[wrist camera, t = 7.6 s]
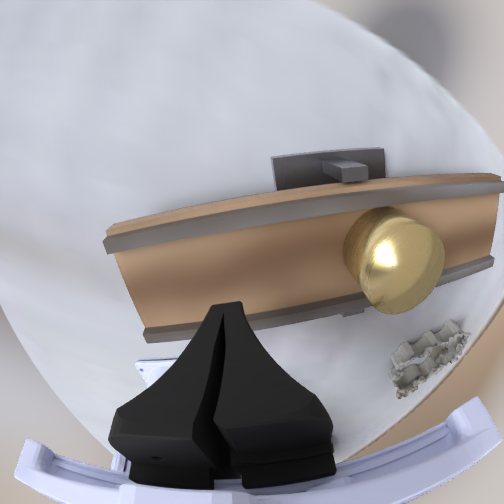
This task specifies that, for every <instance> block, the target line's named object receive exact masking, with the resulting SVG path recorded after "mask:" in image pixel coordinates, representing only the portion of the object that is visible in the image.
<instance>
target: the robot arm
mask: <svg viewBox="0 0 504 504" xmlns="http://www.w3.org/2000/svg"><path fill="white" fill-rule="evenodd" d="M135 366H136V368H137V370H138V371H139V373H140V374H141V376H142V377H143V379H144V380H145V382H146V383H147V388H146V390H145V391H143V392H142V393H141V394H139V395H138V396H136V397H135V398H133V399H132V400H130V401H129V402H127V403H126V404H124V405H123V406H121V407H119V408H117V410H116V413H115V415H114V418H113V422H112V426H111V430H110V434H109V438H108V441H109V443H110V444H111V446H112V447H113V448H114V449H115V450H116V451H115V454H114V458H113V461H112V465H111V469H107V468H103V467H98V466H94V465H90V464H87V463H83V462H79V461H76V460H73V459H70V458H67V457H64V456H61V455H58V454H55V453H54V452H53V451H52V450H50V449H49V448H48V447H46V446H45V445H43V444H41V443H39V442H36V441H34V440H31V439H29V438H27V439H26V441H25V444H24V447H23V449H22V452H21V455H20V458H19V461H18V464H17V467H16V470H15V473H14V477H15V478H16V479H18V480H20V481H21V482H23V483H24V484H26V485H27V486H29V487H31V488H33V489H34V490H36V491H38V492H40V493H41V494H43V495H45V496H47V497H49V498H51V499H53V500H55V501H57V502H59V503H61V504H405V503H408V502H410V501H412V500H414V499H416V498H418V497H420V496H422V495H424V494H426V493H428V492H430V491H431V490H433V489H435V488H437V487H439V486H441V485H442V484H444V483H446V482H448V481H449V480H451V479H453V478H454V477H456V476H457V475H459V474H460V473H462V472H464V471H465V470H466V469H468V468H469V467H471V466H472V465H474V464H475V463H476V462H478V461H479V460H480V459H481V458H483V457H484V456H485V455H486V454H488V453H489V452H490V451H491V450H492V449H494V448H495V447H496V446H497V445H498V444H499V443H500V442H502V440H503V438H502V436H501V434H500V433H499V431H498V429H497V427H496V425H495V424H494V422H493V420H492V418H491V417H490V415H489V413H488V412H487V410H486V408H485V407H484V405H483V403H482V402H481V400H480V399H479V397H478V396H476V397H474V398H472V399H471V400H469V401H468V402H466V403H465V404H463V405H461V406H459V407H458V408H456V409H455V410H454V411H453V412H452V413H451V414H450V415H449V416H448V418H447V419H446V421H444V422H442V423H441V424H439V425H437V426H435V427H433V428H431V429H429V430H427V431H425V432H423V433H420V434H418V435H416V436H414V437H412V438H410V439H407V440H405V441H402V442H400V443H398V444H395V445H393V446H390V447H387V448H385V449H382V450H379V451H377V452H374V453H371V454H368V455H365V456H361V457H358V458H355V459H352V460H348V461H345V462H341V463H337V464H335V461H334V457H333V453H332V452H333V447H332V444H331V436H332V431H333V424H332V421H331V418H330V416H329V414H328V412H327V411H326V409H325V408H324V406H323V405H322V403H321V402H320V400H319V399H318V398H317V396H316V395H315V394H313V393H312V392H310V391H309V390H307V389H306V388H305V387H303V386H302V385H301V384H299V383H298V382H297V381H296V380H294V379H293V378H292V377H291V376H290V375H289V374H288V373H286V372H285V371H284V370H283V369H282V368H281V367H280V366H279V365H278V364H277V363H276V362H275V361H274V359H273V358H272V357H271V356H270V355H269V354H268V352H267V351H266V350H265V349H264V347H263V346H262V344H261V343H260V342H259V340H258V339H257V337H256V335H255V334H254V332H253V330H252V329H251V327H250V325H249V323H248V321H247V319H246V316H245V313H244V308H243V303H242V302H240V301H235V302H228V303H222V304H215V305H212V306H211V307H210V308H209V310H208V312H207V314H206V316H205V318H204V320H203V321H202V323H201V325H200V327H199V328H198V330H197V332H196V333H195V335H194V337H193V338H192V340H191V341H190V342H189V344H188V345H187V347H186V348H185V350H184V351H183V352H182V354H181V355H180V356H179V357H178V359H175V360H159V361H138V362H136V365H135ZM301 491H306V492H301ZM296 492H301V493H296ZM289 493H291V494H289Z"/></svg>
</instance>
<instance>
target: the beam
mask: <svg viewBox="0 0 504 504" xmlns="http://www.w3.org/2000/svg"><path fill="white" fill-rule="evenodd" d="M500 193H504V181H501V177H500V176H498V175H495V174H492V173H464V174H438V175H420V176H405V177H392V178H381V179H370V180H364V181H354V182H345V183H333V184H325V185H317V186H309V187H302V188H295V189H288V190H281V191H275V192H268V193H262V194H256V195H250V196H244V197H238V198H233V199H227V200H222V201H216V202H211V203H206V204H201V205H196V206H191V207H186V208H181V209H176V210H172V211H167V212H162V213H158V214H153V215H149V216H145V217H140V218H136V219H132V220H128V221H124V222H120V223H116V224H113V225H112V226H111V227H110V228H109V229H108V230H107V231H106V233H107V237H106V238H105V239H104V240H103V244H104V247H105V249H106V252H107V254H112V253H114V256H115V259H116V261H117V264H118V267H119V269H120V272H121V274H122V277H123V279H124V282H125V284H126V287H127V289H128V291H129V294H130V296H131V298H132V300H133V303H134V305H135V307H136V309H137V312H138V314H139V316H140V318H141V320H142V322H143V324H144V326H145V329H144V332H143V336H144V338H145V340H146V342H147V343H159V342H170V341H180V340H189V339H192V338H193V337H194V335H195V333H196V332H197V330H198V328H199V327H200V325H201V323H202V321H203V320H204V318H205V316H206V314H207V312H208V310H209V308H210V307H211V306H212V305H215V304H222V303H228V302H235V301H240V302H242V303H243V308H244V313H245V316H246V319H247V321H248V323H249V325H250V327H251V329H252V330H253V331H255V330H261V329H267V328H272V327H278V326H283V325H289V324H294V323H299V322H304V321H309V320H314V319H318V318H323V317H327V316H332V315H336V314H341V313H345V312H349V311H353V310H357V309H361V308H365V307H369V306H373V305H372V303H371V302H370V301H369V299H368V298H367V296H366V295H365V294H364V292H363V291H362V289H361V288H360V287H359V285H358V284H357V282H356V281H355V280H354V278H353V277H352V276H351V274H350V273H349V271H348V270H347V268H346V266H345V264H344V260H343V246H344V241H345V238H346V235H347V233H348V231H349V229H350V228H351V226H352V225H353V223H354V222H355V221H356V220H357V219H358V218H359V217H360V216H361V215H362V214H364V213H365V212H367V211H369V210H370V209H373V208H377V207H384V206H390V207H394V208H396V209H398V210H400V211H402V212H403V213H405V214H407V215H408V216H410V217H412V218H413V219H415V220H417V221H418V222H420V223H421V224H423V225H425V226H426V227H428V228H429V229H431V230H432V231H434V232H435V233H436V234H437V235H438V236H439V237H440V239H441V240H442V243H443V246H444V251H445V261H444V267H443V270H442V273H441V276H440V278H439V280H438V282H437V284H436V286H435V287H437V286H440V285H443V284H446V283H449V282H452V281H455V280H458V279H461V278H463V277H466V276H469V275H472V274H474V273H477V272H480V271H482V270H485V269H487V268H490V267H492V266H493V263H494V259H495V258H494V257H492V256H491V255H490V251H491V247H492V242H493V236H494V231H495V225H496V219H497V212H498V203H499V194H500Z"/></svg>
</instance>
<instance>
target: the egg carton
mask: <svg viewBox="0 0 504 504" xmlns="http://www.w3.org/2000/svg"><path fill="white" fill-rule="evenodd" d="M470 334H471V333H464V332H463V331H462V330H461V329H460V328H459V326H458V325H457V324H456V323H453V321H451V320H449V321H447V322H446V323H445V324H444V326H443V328H442V329H441V330H440V331H439V332H437V333H435V334H433V333H432V331H431V330H429V331H427V332H425V333H424V334H423V336H422V338H421V339H420V340H419V341H418V342H416V343H415V344H409V343H408V341H406V342H403V343H402V344H400V346H399V348H398V349H397V350H396V351H395V352H394V353H392V354H391V358H390V359H391V361H392V363H393V365H394V366H395V367H394V368H392V369H390V370H389V373H388V374H389V376H390V378H391V380H392V382H393V383H394V386H395V387H398V390H397V397H398V399H401V398H402V397H406V396H408V395H409V394H411V393H413V392H414V391H415V390H417V389H418V384H421V383H424V382H426V380H427V379H428V378H429V377H430V376H432V375H435V374H437V373H438V372H439V371H440V370H442V369H443V368H444V367H445V366H446V365H447V364H448V362H450V363H453V362H455V361H456V360H458V357H457V355H458V354H459V355H461V354H462V350H463V348H464V345H465V344H466V343H467V338H468V336H469V335H470ZM446 346H447V347H446ZM425 354H426V355H430V356H429V357H427V358H426V359H425V361H424V362H423V363H422V364H420V365H418V366H417V365H416V364H412V365H410V366H408V367H407V368H406V369H405V370H403V368H405V367H406V366H407V364H408V363H409V361H412V360H414V359H415V358H416V357H419V358H421V357H423V356H424V355H425Z"/></svg>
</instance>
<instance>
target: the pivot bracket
mask: <svg viewBox="0 0 504 504" xmlns="http://www.w3.org/2000/svg"><path fill="white" fill-rule="evenodd" d="M271 162H272V169H273V176H274V183H275V191H281V190H288V189H295V188H302V187H309V186H317V185H325V184H333V183H345V182H354V181H364V180H370V179H381V178H385V158H384V149H383V148H358V149H342V150H330V151H319V152H309V153H299V154H291V155H283V156H275V157H271ZM363 312H364V308H361V309H357V310H353V311H349V312H345V313H341V314H342V316H343V317H346V316H350V315H354V314H359V313H363Z"/></svg>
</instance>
